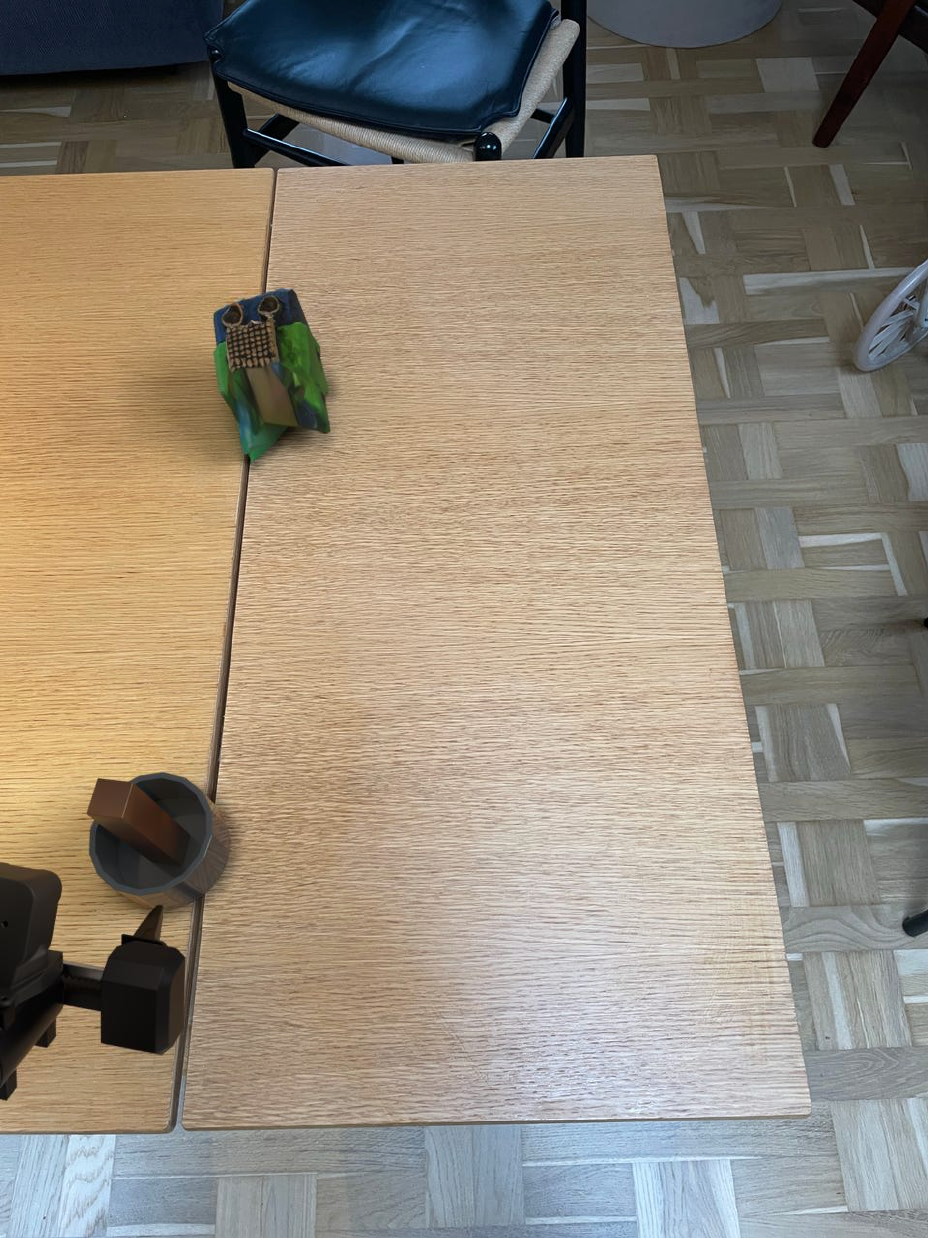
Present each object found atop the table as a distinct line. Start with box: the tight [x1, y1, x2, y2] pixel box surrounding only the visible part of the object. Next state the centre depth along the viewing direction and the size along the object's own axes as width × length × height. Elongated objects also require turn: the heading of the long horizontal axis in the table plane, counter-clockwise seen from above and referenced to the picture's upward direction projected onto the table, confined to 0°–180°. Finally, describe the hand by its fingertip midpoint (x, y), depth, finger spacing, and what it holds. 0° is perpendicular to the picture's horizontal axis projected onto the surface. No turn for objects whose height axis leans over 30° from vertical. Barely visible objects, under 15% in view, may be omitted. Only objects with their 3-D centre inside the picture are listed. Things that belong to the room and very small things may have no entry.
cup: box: [88, 771, 231, 910], centre depth 77 cm, size 9×9×6 cm
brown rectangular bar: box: [85, 777, 190, 866], centre depth 73 cm, size 3×3×14 cm
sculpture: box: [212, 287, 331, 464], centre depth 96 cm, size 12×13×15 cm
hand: (95, 899), depth 66 cm, fingers open, 9 cm apart
